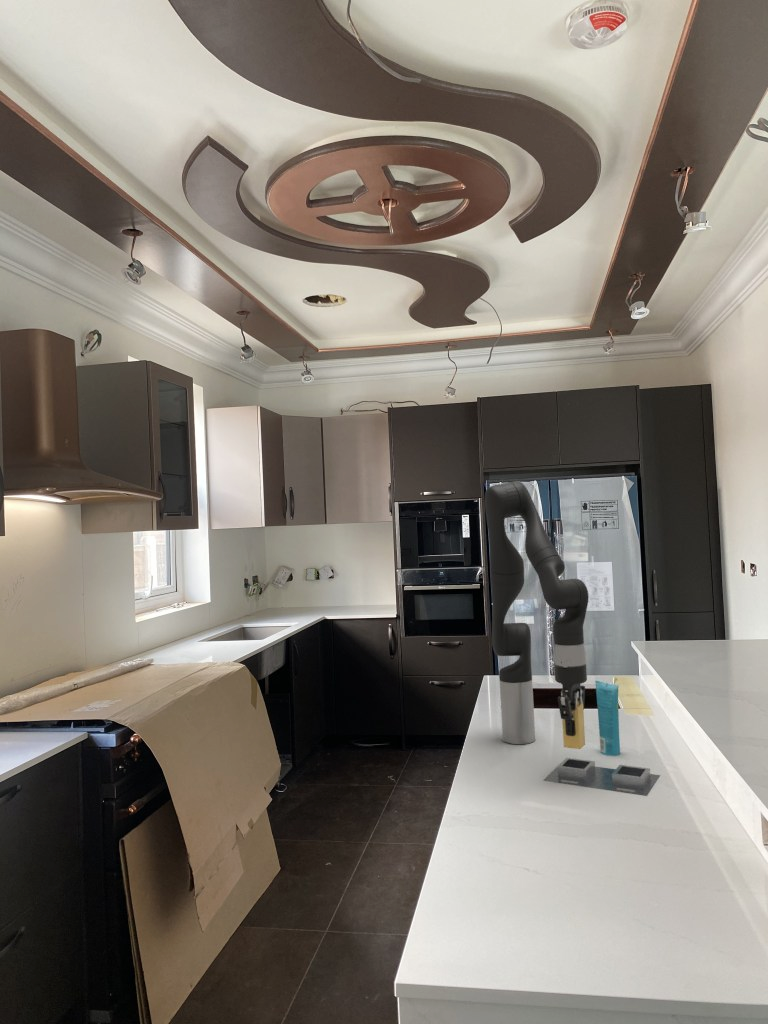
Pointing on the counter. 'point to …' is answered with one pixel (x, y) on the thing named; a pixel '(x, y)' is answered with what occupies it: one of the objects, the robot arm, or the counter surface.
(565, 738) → the plug
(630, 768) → the panel
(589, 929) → the counter surface
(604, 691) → the tube
